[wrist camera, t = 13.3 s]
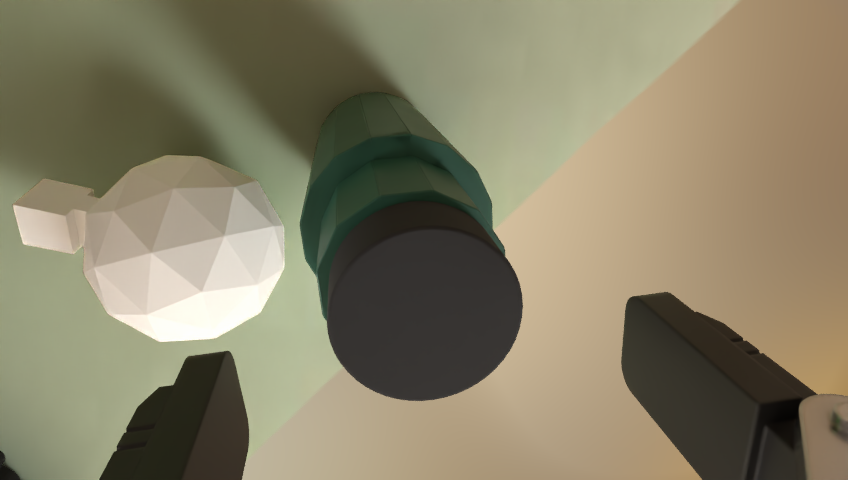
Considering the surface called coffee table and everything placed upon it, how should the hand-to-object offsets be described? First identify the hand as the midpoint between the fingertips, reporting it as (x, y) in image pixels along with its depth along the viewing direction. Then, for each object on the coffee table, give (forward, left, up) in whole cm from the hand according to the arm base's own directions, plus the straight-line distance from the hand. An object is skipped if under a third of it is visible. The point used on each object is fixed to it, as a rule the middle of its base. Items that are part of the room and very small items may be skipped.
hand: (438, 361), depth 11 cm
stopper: (0, 0, -8) cm, 8 cm away
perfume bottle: (-11, -2, -21) cm, 24 cm away
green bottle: (0, 0, -21) cm, 21 cm away
